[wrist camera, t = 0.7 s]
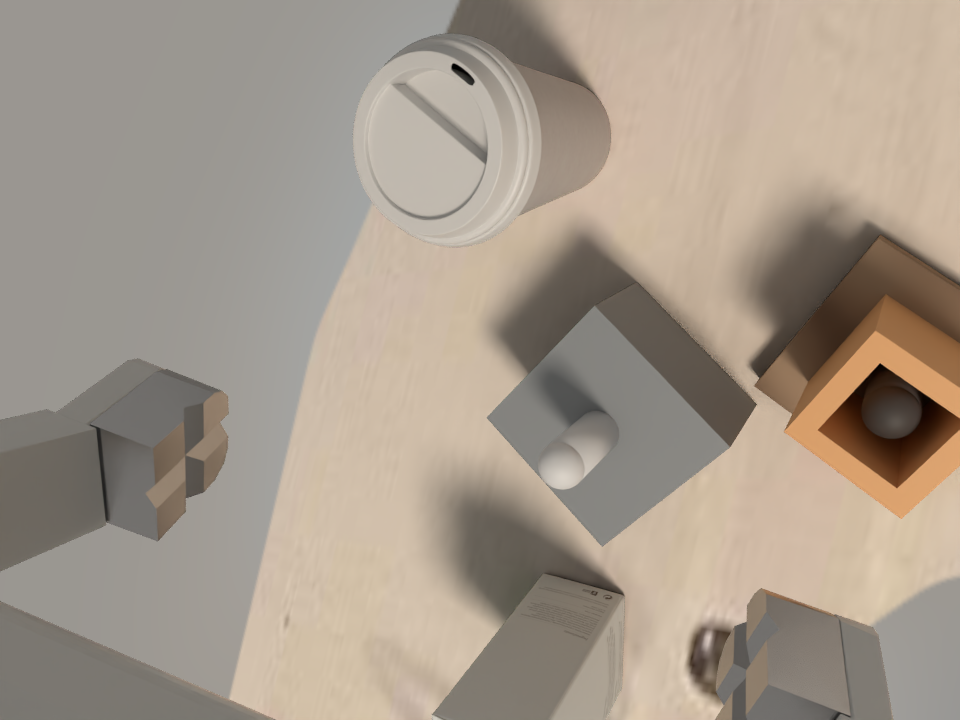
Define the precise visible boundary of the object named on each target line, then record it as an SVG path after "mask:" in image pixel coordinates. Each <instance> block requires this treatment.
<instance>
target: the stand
mask: <svg viewBox="0 0 960 720" xmlns="http://www.w3.org/2000/svg"><path fill="white" fill-rule="evenodd" d="M885 294H887V295H888V296H890V297H891V298H893V299H894V300H896V301H897V302H899V303H900V304H902V305H903V306H905V307H906V308H908V309H909V310H911V311H912V312H914V313H915V314H917V315H918V316H920V317H921V318H923V319H924V320H926V321H927V322H929V323H930V324H932V325H933V326H935V327H936V328H938V329H939V330H941V331H942V332H944V333H945V334H947V335H948V336H950V337H951V338H953V339H954V340H956V341H957V342H959V343H960V286H959V285H958V284H956V283H954V282H953V281H951V280H950V279H948V278H947V277H945V276H944V275H942V274H941V273H939V272H937V271H936V270H934V269H933V268H931V267H930V266H928V265H927V264H925V263H923V262H922V261H920V260H919V259H917V258H916V257H914V256H913V255H911V254H910V253H908V252H906V251H905V250H903V249H902V248H900V247H899V246H897V245H896V244H894V243H892V242H891V241H889V240H888V239H886V238H885V237H883V236H882V235H880V236H879V237H878V238H877V239H876V240H875V241H874V243H873V244H872V245H871V246H870V247H869V249H868V250H867V251H866V252H865V253H864V255H863V256H862V257H861V258H860V259H859V260H858V262H857V263H856V264H855V265H854V266H853V268H852V269H851V270H850V271H849V272H848V274H847V275H846V276H845V277H844V278H843V280H842V281H841V282H840V283H839V284H838V285H837V287H836V288H835V289H834V290H833V291H832V293H831V294H830V295H829V296H828V297H827V299H826V300H825V301H824V302H823V303H822V305H821V306H820V307H819V308H818V309H817V310H816V312H815V313H814V314H813V315H812V316H811V318H810V319H809V320H808V321H807V322H806V324H805V325H804V326H803V327H802V328H801V329H800V331H799V332H798V333H797V334H796V335H795V337H794V338H793V339H792V340H791V341H790V343H789V344H788V345H787V346H786V347H785V349H784V350H783V351H782V352H781V353H780V354H779V356H778V357H777V358H776V359H775V360H774V362H773V363H772V364H771V365H770V366H769V368H768V369H767V370H766V371H765V372H764V374H763V375H762V376H761V377H760V378H759V380H758V381H757V383H756V384H755V387H756V388H758V389H759V390H760V391H762V392H763V393H764V394H766V395H767V396H769V397H770V398H771V399H773V400H774V401H775V402H777V403H778V404H779V405H781V406H782V407H784V408H785V409H786V410H788V411H789V412H790V413H792V414H793V412H794V410H795V408H796V406H797V404H798V402H799V400H800V398H801V396H802V393H803V391H804V389H805V387H806V385H807V383H808V381H809V380H810V379H811V378H812V377H813V376H814V375H815V373H816V372H817V371H818V370H819V369H820V368H821V367H822V366H823V364H824V363H825V362H826V361H827V360H828V359H829V358H830V357H831V355H832V354H833V353H834V352H835V351H836V350H837V349H838V347H839V346H840V345H841V344H842V343H843V342H844V341H845V340H846V338H847V337H848V336H849V335H850V334H851V333H852V332H853V331H854V329H855V328H856V327H857V326H858V325H859V324H860V323H861V321H862V320H863V319H864V318H865V317H866V316H867V315H868V314H869V312H870V311H871V310H872V309H873V308H874V307H875V306H876V305H877V303H878V302H879V301H880V300H881V299H882V298H883V297H884V296H885ZM853 392H855V393H856V394H858V395H859V396H860V397H862V398H863V403H862V407H861V416H862V419H863V422H864V424H865V425H866V427H867V428H868V429H869V430H870V431H871V432H873V433H874V434H876V435H878V436H880V437H883V438H888V439H897V438H902V437H905V436H907V435H909V434H910V433H912V432H913V431H914V430H915V429H916V428H917V426H918V425H919V423H920V420H921V416H922V408H923V407H924V406H925V405H926V404H927V403H928V402H929V401H930V400H931V398H930V397H928V396H927V395H925V394H924V393H922V392H921V391H920V390H918V389H917V388H915V387H914V386H912V385H911V384H909V383H908V382H907V381H905V380H904V379H902V378H901V377H899V376H898V375H896V374H895V373H894V372H892V371H891V370H889V369H888V368H886V367H885V366H883V365H882V364H881V363H880V364H879V365H878V366H877V367H876V368H875V369H874V370H873V371H872V372H871V373H870V374H869V375H868V376H867V377H866V379H865V380H864V381H863V382H862V383H861V384H860V385H859V386H858V387H857V388H856V389H855V390H854V391H853Z"/></svg>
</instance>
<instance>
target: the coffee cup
mask: <svg viewBox="0 0 960 720" xmlns="http://www.w3.org/2000/svg"><path fill="white" fill-rule="evenodd" d="M610 143H611V129H610V123H609V119H608V116H607V113H606V111H605V109H604V107H603V105H602V104H601V102H600V101H599V99H598V98H597V97H596V96H595V95H594V94H593V93H592V92H591V91H589V90H588V89H586V88H585V87H583V86H581V85H579V84H576V83H573V82H570V81H567V80H564V79H561V78H558V77H555V76H552V75H549V74H546V73H543V72H540V71H537V70H534V69H531V68H528V67H525V66H522V65H519V64H516V63H513V62H511V61H510V60H509V59H508V58H507V57H506V56H505V55H504V54H503V53H501V52H500V51H499V50H498V49H496V48H495V47H493V46H492V45H490V44H488V43H486V42H484V41H482V40H480V39H478V38H475V37H472V36H468V35H463V34H440V35H434V36H430V37H428V38H424V39H422V40H419V41H417V42H414V43H412V44H410V45H409V46H407V47H405V48H404V49H402V50H401V51H399V52H398V53H397V54H396V55H394V56H393V57H392V58H391V59H390V60H389V61H388V62H387V63H386V64H385V65H384V66H383V67H382V68H381V69H380V70H379V71H378V72H377V73H376V74H375V75H374V77H373V78H372V79H371V81H370V82H369V84H368V85H367V87H366V89H365V90H364V92H363V95H362V97H361V99H360V101H359V104H358V107H357V111H356V115H355V120H354V127H353V151H354V158H355V164H356V168H357V172H358V175H359V178H360V180H361V183H362V185H363V187H364V189H365V191H366V193H367V195H368V197H369V198H370V200H371V201H372V203H373V204H374V205H375V207H376V208H377V209H378V210H379V211H380V212H381V213H382V214H383V215H384V216H385V217H386V218H387V219H388V220H389V221H391V222H392V223H394V224H395V225H397V226H398V227H399V228H400V229H402V230H403V231H405V232H406V233H408V234H409V235H411V236H413V237H415V238H417V239H419V240H421V241H424V242H427V243H430V244H434V245H438V246H443V247H451V248H461V247H469V246H473V245H477V244H480V243H483V242H485V241H487V240H489V239H491V238H493V237H495V236H496V235H498V234H499V233H501V232H502V231H503V230H505V229H506V228H507V227H508V226H509V225H510V224H511V223H512V222H513V221H514V220H515V219H516V217H517V216H519V215H521V214H524V213H526V212H528V211H530V210H533V209H535V208H537V207H539V206H542V205H544V204H546V203H549V202H551V201H553V200H555V199H558V198H560V197H562V196H565V195H567V194H569V193H571V192H574V191H576V190H578V189H580V188H582V187H584V186H585V185H587V184H588V183H590V182H591V181H592V180H593V179H594V178H595V177H596V176H597V175H598V173H599V172H600V171H601V169H602V167H603V166H604V164H605V162H606V159H607V157H608V153H609V149H610Z"/></svg>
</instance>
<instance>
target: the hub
mask: <svg viewBox="0 0 960 720" xmlns="http://www.w3.org/2000/svg"><path fill="white" fill-rule="evenodd" d="M756 405H757V404H756V403H755V402H754V401H753V400H752V399H751V398H750V397H749V396H748V395H747V394H746V393H745V392H744V391H743V390H742V389H741V388H740V387H739V386H738V385H737V384H736V383H735V382H734V381H733V380H732V379H731V378H730V377H729V376H728V375H727V374H726V373H725V372H724V371H723V370H722V369H721V368H720V367H719V365H718V364H717V363H716V362H715V361H714V360H713V359H712V358H711V357H710V356H709V355H708V354H707V353H706V352H705V351H704V350H703V349H702V348H701V347H700V346H699V345H698V344H697V343H696V342H695V341H694V340H693V339H692V338H691V337H690V336H689V335H688V334H687V333H686V332H685V331H684V330H683V329H682V328H681V327H680V326H679V325H678V323H677V322H676V321H675V320H674V319H673V318H672V317H671V316H670V315H669V314H668V313H667V312H666V311H665V310H664V309H663V308H662V307H661V306H660V305H659V304H658V303H657V302H656V301H655V300H654V299H653V298H652V297H651V296H650V295H649V294H648V293H647V292H646V291H645V290H644V289H643V288H642V287H641V286H640V285H639V284H638V283H637V282H636V283H634V284H633V285H631V286H629V287H627V288H625V289H624V290H622V291H620V292H618V293H616V294H614V295H613V296H611V297H609V298H607V299H605V300H604V301H602V302H600V303H598V304H596V305H595V306H594V307H593V308H592V309H591V310H590V311H589V312H588V313H587V314H586V315H585V316H584V317H583V318H582V319H581V320H580V321H579V322H578V323H577V324H576V325H575V326H574V327H573V328H572V329H571V330H570V332H569V333H568V334H567V335H566V336H565V337H564V338H563V339H562V340H561V341H560V342H559V343H558V344H557V345H556V346H555V347H554V348H553V349H552V350H551V351H550V352H549V353H548V354H547V355H546V356H545V357H544V359H543V360H542V361H541V362H540V363H539V364H538V365H537V366H536V367H535V368H534V369H533V370H532V371H531V372H530V373H529V374H528V375H527V376H526V377H525V378H524V379H523V380H522V381H521V382H520V383H519V385H518V386H517V387H516V388H515V389H514V390H513V391H512V392H511V393H510V394H509V395H508V396H507V397H506V398H505V399H504V400H503V401H502V402H501V403H500V404H499V405H498V406H497V407H496V408H495V409H494V410H493V412H492V413H491V414H490V415H489V416H488V417H487V419H488V420H489V421H490V422H491V423H492V424H493V425H494V427H495V428H496V429H497V430H498V431H499V432H500V433H501V434H502V435H503V437H504V438H505V439H506V440H507V441H508V442H509V443H510V444H511V445H512V447H513V448H514V449H515V450H516V451H517V452H518V453H519V454H520V456H521V457H522V458H523V459H524V460H525V461H526V462H527V463H528V464H529V466H530V467H531V468H532V469H533V470H534V471H535V472H536V473H537V474H538V476H539V477H540V478H541V479H542V480H543V481H544V482H545V483H546V485H547V486H548V487H549V488H550V489H551V490H552V491H553V492H554V493H555V495H556V496H557V497H558V498H559V499H560V500H561V501H562V502H563V503H564V505H565V506H566V507H567V508H568V509H569V510H570V511H571V512H572V514H573V515H574V516H575V517H576V518H577V519H578V520H579V521H580V522H581V524H582V525H583V526H584V527H585V528H586V529H587V530H588V531H589V532H590V534H591V535H592V536H593V537H594V538H595V539H596V540H597V541H598V543H599V544H600V545H601V546H604V545H605V544H606V543H608V542H609V541H610V540H611V539H613V538H614V537H615V536H617V535H618V534H619V533H620V532H622V531H623V530H624V529H626V528H627V527H628V526H629V525H631V524H632V523H633V522H635V521H636V520H637V519H638V518H640V517H641V516H642V515H644V514H645V513H646V512H647V511H649V510H650V509H651V508H653V507H654V506H655V505H656V504H658V503H659V502H660V501H662V500H663V499H664V498H665V497H667V496H668V495H669V494H671V493H672V492H673V491H674V490H676V489H677V488H678V487H680V486H681V485H682V484H683V483H685V482H686V481H687V480H689V479H690V478H691V477H692V476H694V475H695V474H696V473H698V472H699V471H700V470H702V469H703V468H704V467H705V466H707V465H708V464H709V463H711V462H712V461H713V460H714V459H716V458H717V457H718V456H720V455H721V454H722V453H723V452H725V451H726V450H727V449H729V448H730V447H731V445H732V443H733V442H734V440H735V439H736V437H737V435H738V434H739V432H740V431H741V429H742V427H743V426H744V424H745V423H746V421H747V419H748V418H749V416H750V415H751V413H752V411H753V410H754V408H755V407H756Z"/></svg>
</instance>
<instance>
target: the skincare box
mask: <svg viewBox="0 0 960 720" xmlns="http://www.w3.org/2000/svg"><path fill="white" fill-rule="evenodd" d="M624 612H625V597H624V596H623V595H621V594H617V593H614V592H610V591H607V590H603V589H600V588H596V587H592V586H589V585H586V584H582V583H578V582H574V581H571V580H567V579H563V578H560V577H556V576H552V575H548V574H542V576H541V577H540V578H539V579H538V581H537V582H536V583H535V585H534V586H533V587H532V588H531V589H530V591H529V592H528V593H527V595H526V596H525V597H524V598H523V600H522V601H521V602H520V603H519V605H518V606H517V607H516V609H515V610H514V611H513V613H512V614H511V615H510V616H509V618H508V619H507V620H506V622H505V623H504V624H503V625H502V627H501V628H500V629H499V630H498V632H497V633H496V634H495V636H494V637H493V638H492V639H491V641H490V642H489V643H488V645H487V646H486V647H485V648H484V650H483V651H482V652H481V654H480V655H479V656H478V657H477V659H476V660H475V661H474V662H473V664H472V665H471V666H470V668H469V669H468V670H467V671H466V672H465V674H464V675H463V676H462V678H461V679H460V680H459V681H458V683H457V684H456V685H455V687H454V688H453V689H452V690H451V692H450V693H449V695H448V696H447V697H446V698H445V699H444V700H443V702H442V703H441V704H440V706H439V707H438V708H437V709H436V710H435V712H434V713H433V714H432V720H606V719H607V717H608V715H609V713H610V711H611V709H612V707H613V705H614V703H615V701H616V699H617V697H618V695H619V693H620V691H621V689H622V673H623V645H624Z"/></svg>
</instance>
